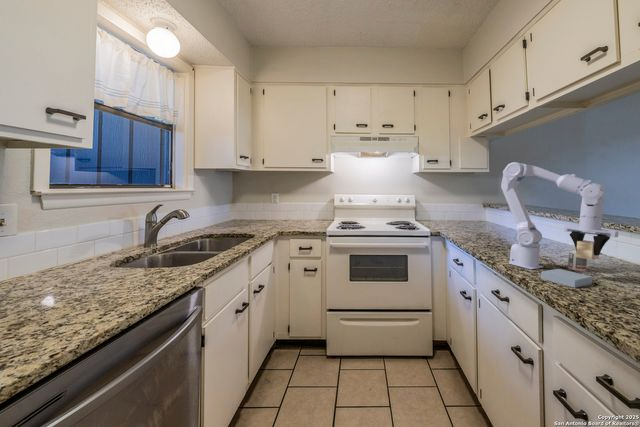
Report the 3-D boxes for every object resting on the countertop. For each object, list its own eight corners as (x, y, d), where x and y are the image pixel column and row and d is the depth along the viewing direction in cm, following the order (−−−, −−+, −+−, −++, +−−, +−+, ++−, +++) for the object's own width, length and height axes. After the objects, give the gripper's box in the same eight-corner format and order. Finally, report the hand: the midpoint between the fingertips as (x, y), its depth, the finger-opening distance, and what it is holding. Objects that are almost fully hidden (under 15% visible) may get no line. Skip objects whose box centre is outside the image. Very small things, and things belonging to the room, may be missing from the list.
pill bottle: (587, 269, 109) (589, 246, 108) (583, 272, 106) (585, 247, 105) (570, 266, 114) (571, 243, 113) (565, 268, 111) (567, 245, 110)
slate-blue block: (540, 279, 99) (541, 271, 99) (557, 276, 103) (558, 268, 102) (574, 289, 90) (575, 280, 89) (591, 285, 93) (592, 276, 93)
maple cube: (575, 257, 101) (577, 241, 100) (583, 256, 103) (584, 240, 102) (591, 260, 97) (592, 243, 96) (598, 258, 98) (600, 242, 98)
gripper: (624, 218, 93) (620, 257, 94) (572, 214, 106) (570, 248, 108) (613, 219, 90) (609, 259, 92) (561, 215, 104) (559, 250, 105)
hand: (587, 253), depth 100 cm, fingers closed on maple cube, 4 cm apart
